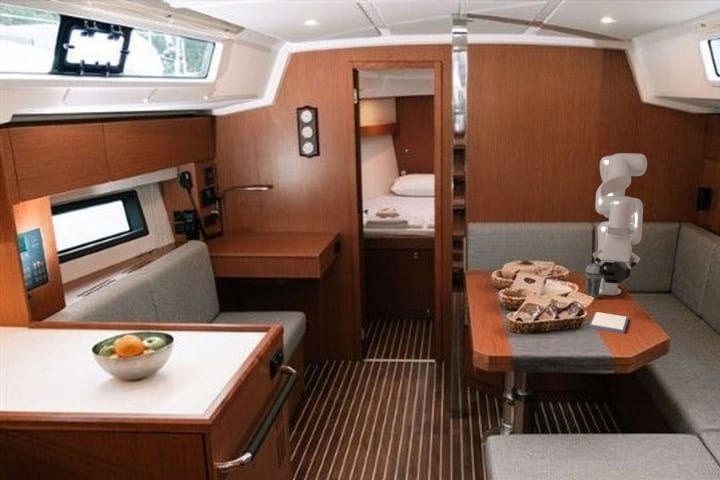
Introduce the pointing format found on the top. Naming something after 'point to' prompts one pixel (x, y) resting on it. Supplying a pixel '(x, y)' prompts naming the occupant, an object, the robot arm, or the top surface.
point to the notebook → (609, 322)
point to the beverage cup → (593, 280)
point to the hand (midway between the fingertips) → (614, 276)
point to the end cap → (614, 272)
